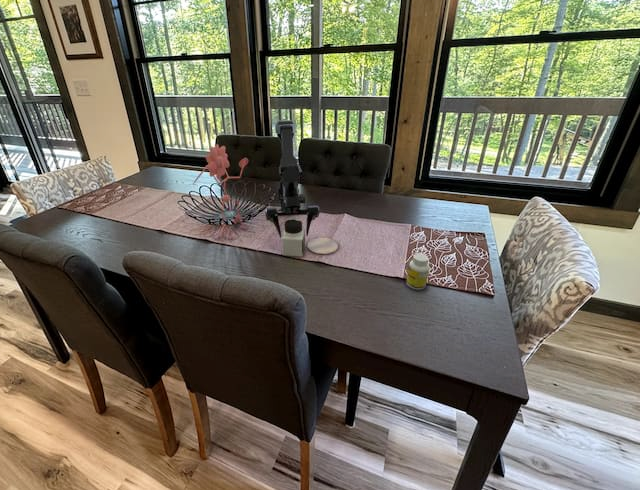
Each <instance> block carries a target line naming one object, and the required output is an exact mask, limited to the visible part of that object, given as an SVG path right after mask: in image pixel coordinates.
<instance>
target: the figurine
mask: <svg viewBox="0 0 640 490" xmlns="http://www.w3.org/2000/svg"><path fill="white" fill-rule="evenodd" d="M226 148H227V147H226V145H222V146H221V147H220V146H219V144H218V143H216V144H215V145H214V146H210V149H209V152H210V154H206V155H205V161H206V163H208V164H207V165H205V167H204V168H203V169H202V171H200V173H199V174H198V176H196V178H195V180H194V181H193V184H195V183H196V182H197V181H198V180H199V178H200V177H201V176H202V174H203V173H204V172H205V171H206V170H207V171H209V177H210V178H212V177H213V179H214V180H215V182H216V183H217V185H218V186H220V185H221V184H223V196H222V197H221V198H222V209H221V216H222V228H221V230H220V232H219V234H218V236H217V238H219V237H220V236H221V235H222V233H223V231H224V230H225V232H226V234H227V236H228V237H229V239H230V240H232V237H231V235H230V233H229V230H228V228H227V227H226V225H227V223H225V221H224V207H225V206H224V205H225V203H228V202H230V200H232V201H237V216H236V217H235V218H234V220H233V223H234V224H235V225H237V224H238V223H239V222H240V224H241V226H242V228H243V230H246V226H245V225H244V223H243V221H242V216H243V215H242V214H240V213H239V212H240V209H239V208H240V207H239V206H240V205H239V201H240V200H239V199H237V198H230V196H229V195H227V194H226V182H227V181H228V180H230V179H241V178H242V174H243V171H244V168H245V167H246V166H248V164H249V158H247V157H244V158H242V159H241V160H240V161H239V163H238V167H240V168H241V170H240V173H239V176H229V174H228V171H227V169H229V167H230V166H231V165H230V161H229V160H228V158H229V157H228V153H226ZM225 175H226V177H225V178H224V179H223V180H221V181H219V180H220V179H221V177H222V176H225ZM220 223H221V221H219V222H217V223H214V224H213V225H209V226H208V229H209V228H211V227H212V226H215V225H216V224H220ZM206 231H207V230H205V231H204V232H203V234H205V233H206Z"/></svg>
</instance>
